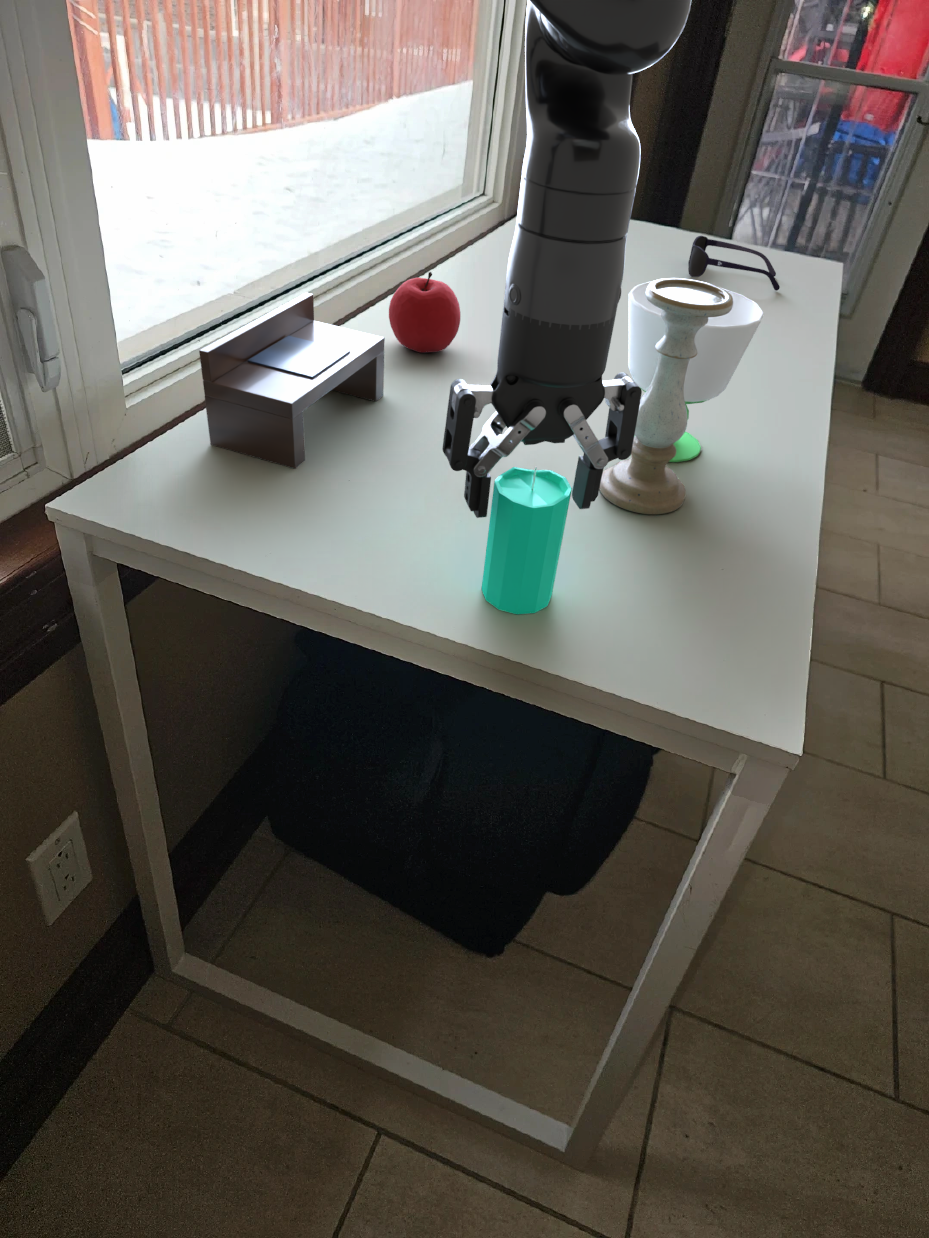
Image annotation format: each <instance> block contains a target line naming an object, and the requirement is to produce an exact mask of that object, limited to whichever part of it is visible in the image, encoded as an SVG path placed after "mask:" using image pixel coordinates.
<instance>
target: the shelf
mask: <svg viewBox="0 0 929 1238" xmlns="http://www.w3.org/2000/svg"><path fill="white" fill-rule="evenodd" d="M314 301H315V300H314V294H313V293H309V292H304V293H302V294H301V295H299V296H297V297H295V298H293V299H291V300H290V301H287V302H286V303H284V304H281V305H280V306H278V307H276V308H274V309H273V310H271V311H269V312H267V313H265V314H263V315H262V316H260V317H258V318H256V319H254V320H253V321H251V322H249V323H246V324H245V325H243V326H241V327H239V328H237V329H236V330H234V331H232V332H231V333H228V334H227V335H225V336H223V337H221V338H220V339H217V340H215V341H214V342H212V343H210V344H208V345H206V346H204V347H202V348H201V349H199V351H198V353H199V363H200V368H201V375H202V376H201V377H202V386H203V394H204V401H205V402H204V403H205V410H206V411H205V413H206V419H207V427H208V436H209V443H210V445H211V446H214V447H218V448H221V449H225V450H229V451H232V452H235V453H239V454H242V455H245V456H249V457H252V458H257V459H260V460H263V461H266V462H270V463H274V464H277V465H280V466H284V467H288V468H290V469H297V468H298V467H299V466H301V465H302V464H303V463H304V462H306V445H305V443H306V442H305V422H304V421H305V420H304V411H305V410H307V409H308V408H310V407H311V406H312V405H314V404H315V403H316V402H317V401H319V400H320V399H321V398H323V397H324V396H326V395H327V394H329V392H331V391H334V392H337V393H341V394H345V395H348V396H349V395H350V396H352V397H357V398H360V399H364V400H368V401H372V402H378V401H379V400H380V399H381V398H382V397H384V389H385V387H384V386H385V385H384V384H385V383H384V382H385V337H384V336H381V335H376V334H372V333H368V332H363V331H360V330H355V329H351V328H347V327H342V326H338V325H334V324H330V323H326V322H321V321H318V320H315V307H314V305H315V304H314Z"/></svg>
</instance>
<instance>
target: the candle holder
mask: <svg viewBox="0 0 929 1238" xmlns="http://www.w3.org/2000/svg"><path fill="white" fill-rule="evenodd" d="M652 281H653V282H651V283H650V284H649V286H648V287H647V289H646V293H645V296H646V299H647V300H648V301H649V302H650V303H651V304H653V305H654V306H656V307H658V308H660V309H662V311H661V317H662V319H663V320H664V322H665V326H666V331H665V334H664V336H663V337H662V338H661V340H660V341H659V342H658V343H657V344H656V345H655V348H656V350H657V351H658V352H659V359H658V363H657V367H656V371H655V374H654V377H653V380H652V382H651V384H650V386H649V388H648V389H647V391H646V392H644V393H643V395H641V400H640V406H639V412H638V417H637V423H636V429H635V437H634V441H633V447H632V452H631V455H630V456H631V458H629V459H628V458H627V459H625V460H620V461H619V462H617V463H616V464H615V465H611V466H609V467H607V468H606V469H604V470H603V474H602V478H601V483H600V488H599V492H600V493H601V495H602V496H603V497H604V498H605V499H606V500H607V501H608V502H610V503H611V504H613V505H615V506H616V507H619V508H621V509H623V510H627V511H629V512H632V513H633V512H634V513H637V514H643V515H664V514H669V513H671V512H674V511H677V510H678V509H679V508H681V507H682V505H683V504H684V501H685V499H686V496H687V489H686V487H685V485H684V483H683V481H681V479H680V478H679V477H678V475H677V473H676V472H675V471H674V470H673V469H672V468H670V467H669V466H667V464H668V463H670V462H669V461H670V460H671V459H672V458H674V457H675V455H676V447H675V446H674V443H675V442H676V441H678V440H679V439H680V438H681V437H682V436H683V434H684V433H685V432H687V431H686V430H687V427H688V421H687V409H686V405H687V404H685V399H684V382H685V376H686V372H687V367H688V364H689V361H690V358H694V357H695V356H696V355H697V353H698V352H697V348H696V345H695V341H694V339H695V335H696V333H697V332H698V330H699V329H700V328H702V327H703V326H705V325H706V324H707V322H708V319H709V317H718V316H722V315H725V314H727V313H729V312H730V311H731V309H732V307H733V298H732V296H731V294H730V293H729V292H727V291H726V290H724V289H725V288H724V289H722V288H723V287H721V286H718V285H715V284H712V283H709V282H705V281H700V280H696V279H692V278H691V279H690V278H681V277H680V278H679V277H667V278H659V279H656V280H652ZM720 287H721V288H720Z"/></svg>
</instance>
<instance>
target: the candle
mask: <svg viewBox="0 0 929 1238" xmlns="http://www.w3.org/2000/svg"><path fill="white" fill-rule="evenodd" d="M572 490H573V487H572V486H571V484H570V482H569V480H568V479H567V477H566V476H563V475H561V474H560V473H557V472H556V471H554V470H552V469H538V467H537V466H534V469H531V468H523V467H517V466H513V467H511V468H509V469H508V470H506V471H504V472H503V473H500V474H499V475H498V476H497V477H496V478H495V480H494V481H493V490H492V497H491V498H492V499H491V507H490V515H489V523H488V531H487V532H488V533H487V541H486V546H485V547H486V548H485V556H484V565H483V573H482V581H481V582H482V583H481V591H482V594H483V597H484V600H485V601H486V602H487V603H489V604H490V605H492V606H493V607H494V608H496V609H497V610H499V611H502V612H506V613H510V614H514V615H527V614H536V613H538V612H540V611H542V610H543V609H545V608H546V607H548V606H549V604H550V601H551V599H552V597H553V591H554V586H555V581H556V575H557V570H558V566H559V560H560V554H561V549H562V543H563V538H564V533H565V527H566V522H567V517H568V510H569V505H570V500H571V497H572Z"/></svg>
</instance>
